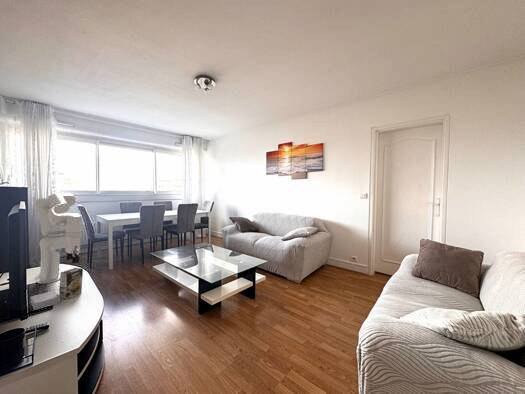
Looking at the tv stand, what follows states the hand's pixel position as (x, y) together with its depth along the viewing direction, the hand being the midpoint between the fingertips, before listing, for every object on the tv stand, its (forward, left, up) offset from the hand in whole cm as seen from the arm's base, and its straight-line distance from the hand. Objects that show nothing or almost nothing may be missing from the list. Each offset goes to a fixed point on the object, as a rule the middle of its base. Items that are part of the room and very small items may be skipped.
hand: (72, 261), depth 131 cm
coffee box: (0, 0, -23) cm, 23 cm away
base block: (+2, -12, -23) cm, 26 cm away
